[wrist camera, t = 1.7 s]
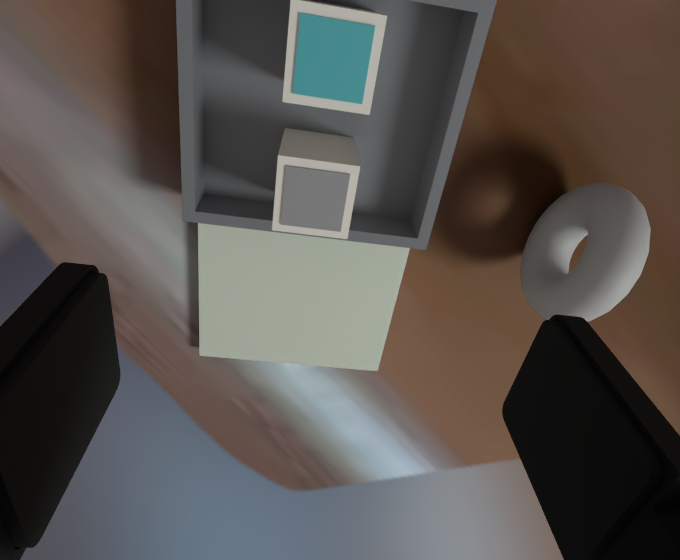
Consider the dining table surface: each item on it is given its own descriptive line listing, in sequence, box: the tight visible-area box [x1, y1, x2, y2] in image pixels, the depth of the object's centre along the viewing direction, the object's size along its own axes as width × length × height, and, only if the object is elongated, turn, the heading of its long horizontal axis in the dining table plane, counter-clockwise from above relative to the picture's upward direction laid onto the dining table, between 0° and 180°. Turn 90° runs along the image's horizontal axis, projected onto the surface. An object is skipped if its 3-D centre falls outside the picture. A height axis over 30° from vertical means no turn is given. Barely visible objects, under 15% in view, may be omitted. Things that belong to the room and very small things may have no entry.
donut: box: [520, 182, 651, 322], centre depth 32 cm, size 10×4×10 cm, turn 159°
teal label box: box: [282, 0, 387, 115], centre depth 25 cm, size 5×5×6 cm
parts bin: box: [176, 0, 497, 250], centre depth 29 cm, size 15×17×4 cm
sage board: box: [198, 223, 410, 371], centre depth 38 cm, size 13×16×1 cm
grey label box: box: [272, 128, 360, 239], centre depth 29 cm, size 5×5×6 cm
